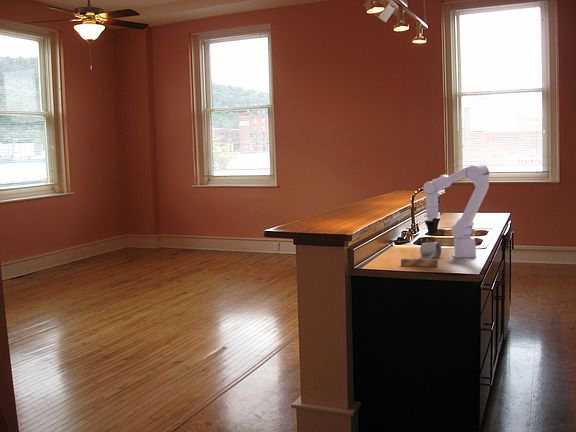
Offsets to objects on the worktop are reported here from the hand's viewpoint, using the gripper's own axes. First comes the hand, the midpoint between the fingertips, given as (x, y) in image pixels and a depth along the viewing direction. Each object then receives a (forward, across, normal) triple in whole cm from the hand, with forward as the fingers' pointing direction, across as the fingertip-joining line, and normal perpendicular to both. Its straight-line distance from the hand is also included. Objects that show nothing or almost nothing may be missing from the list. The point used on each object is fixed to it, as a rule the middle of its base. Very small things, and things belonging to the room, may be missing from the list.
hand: (432, 234), depth 315 cm
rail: (+10, +32, -1) cm, 34 cm away
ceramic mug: (+10, +11, 0) cm, 15 cm away
